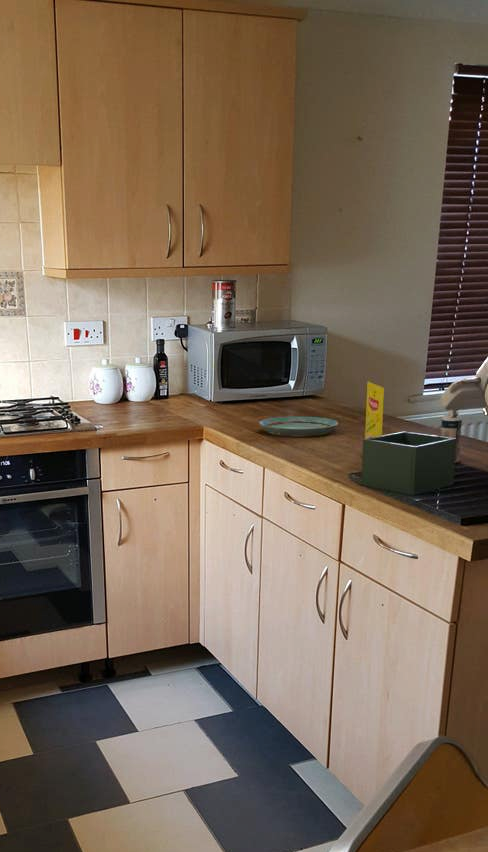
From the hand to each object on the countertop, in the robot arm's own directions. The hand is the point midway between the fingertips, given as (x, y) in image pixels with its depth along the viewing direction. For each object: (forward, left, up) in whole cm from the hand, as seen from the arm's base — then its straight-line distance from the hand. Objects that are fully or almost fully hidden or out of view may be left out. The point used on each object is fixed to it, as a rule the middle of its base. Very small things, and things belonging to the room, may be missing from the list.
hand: (468, 414), depth 213 cm
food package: (+10, +20, -13) cm, 27 cm away
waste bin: (-17, +19, -13) cm, 29 cm away
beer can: (+7, +1, -13) cm, 15 cm away
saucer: (+61, +30, -13) cm, 70 cm away
